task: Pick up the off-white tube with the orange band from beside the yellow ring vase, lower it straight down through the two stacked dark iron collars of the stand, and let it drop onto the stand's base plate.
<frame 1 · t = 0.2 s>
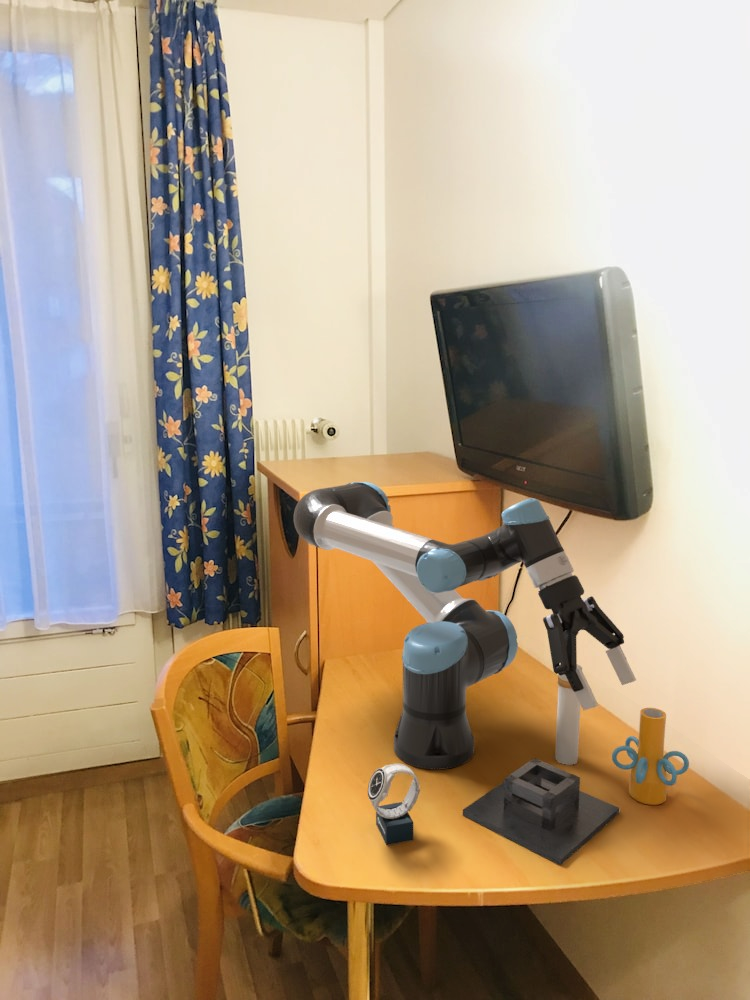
hand: (610, 695, 133), 16 cm above the table, tool tilted 35°, fingers open, 13 cm apart
yellow ring vase: (647, 796, 131), on the table
tube: (566, 759, 142), on the table
collar stand: (540, 814, 126), on the table
watch: (393, 833, 121), on the table
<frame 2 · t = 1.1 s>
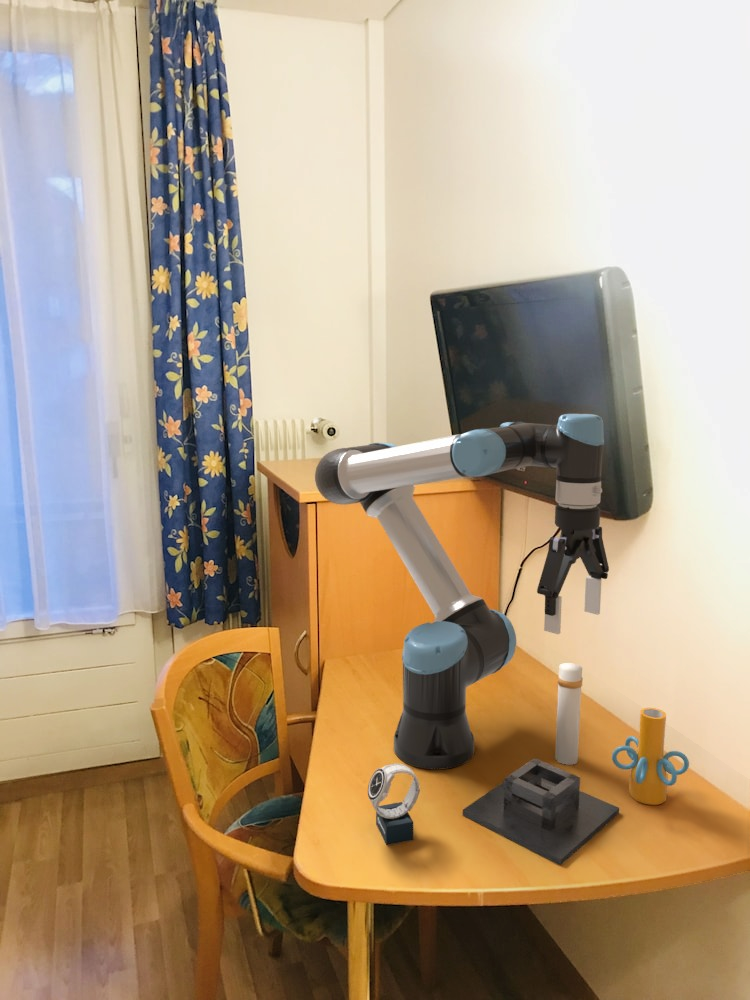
hand: (572, 622, 137), 27 cm above the table, tool pointing down, fingers open, 13 cm apart
nothing on the table moved.
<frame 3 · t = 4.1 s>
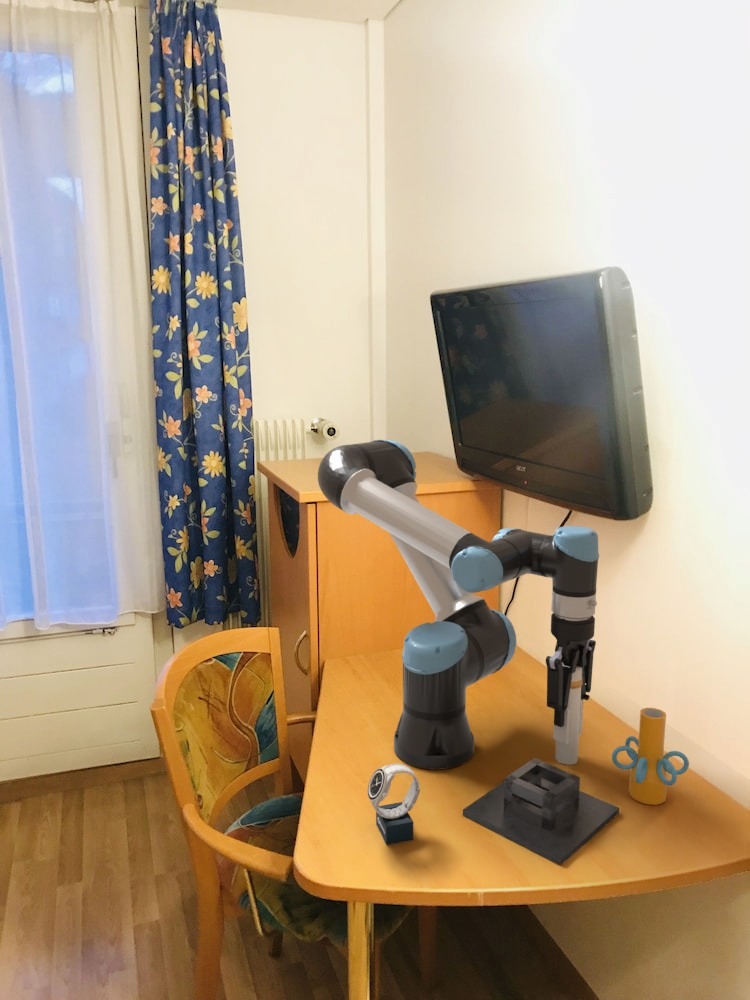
hand: (567, 735, 141), 5 cm above the table, tool pointing down, fingers closed on tube, 4 cm apart
tube: (566, 759, 142), on the table, touching gripper
everything else where it was.
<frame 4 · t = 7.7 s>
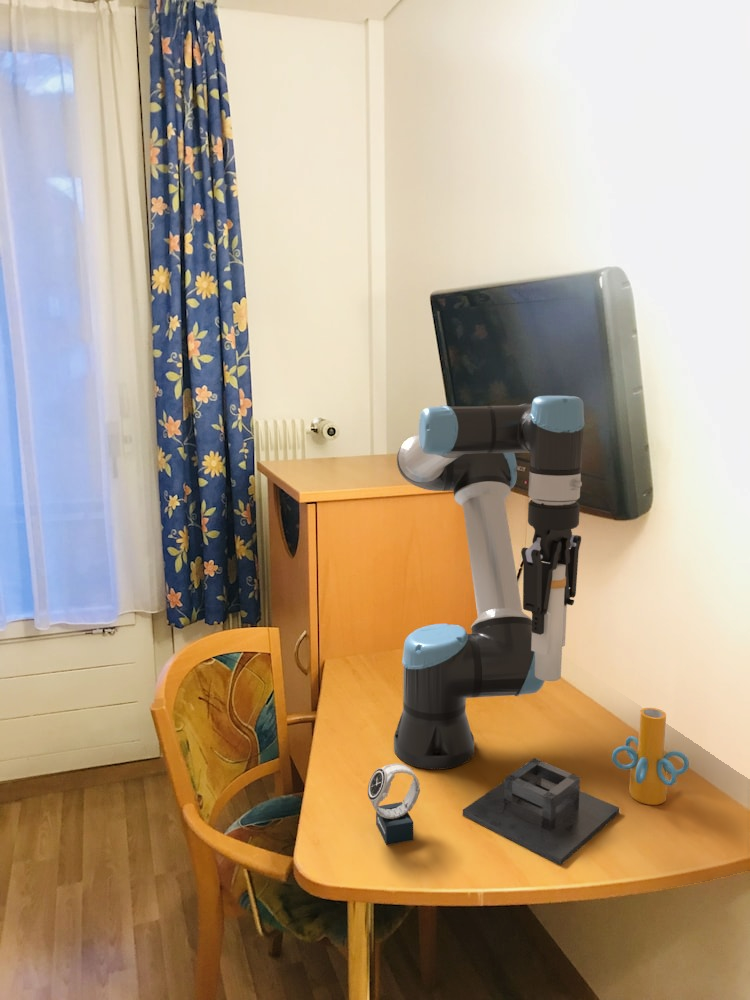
hand: (548, 647, 120), 29 cm above the table, tool pointing down, fingers closed on tube, 4 cm apart
tube: (547, 675, 121), point 24 cm above the table, touching gripper
everything else where it was.
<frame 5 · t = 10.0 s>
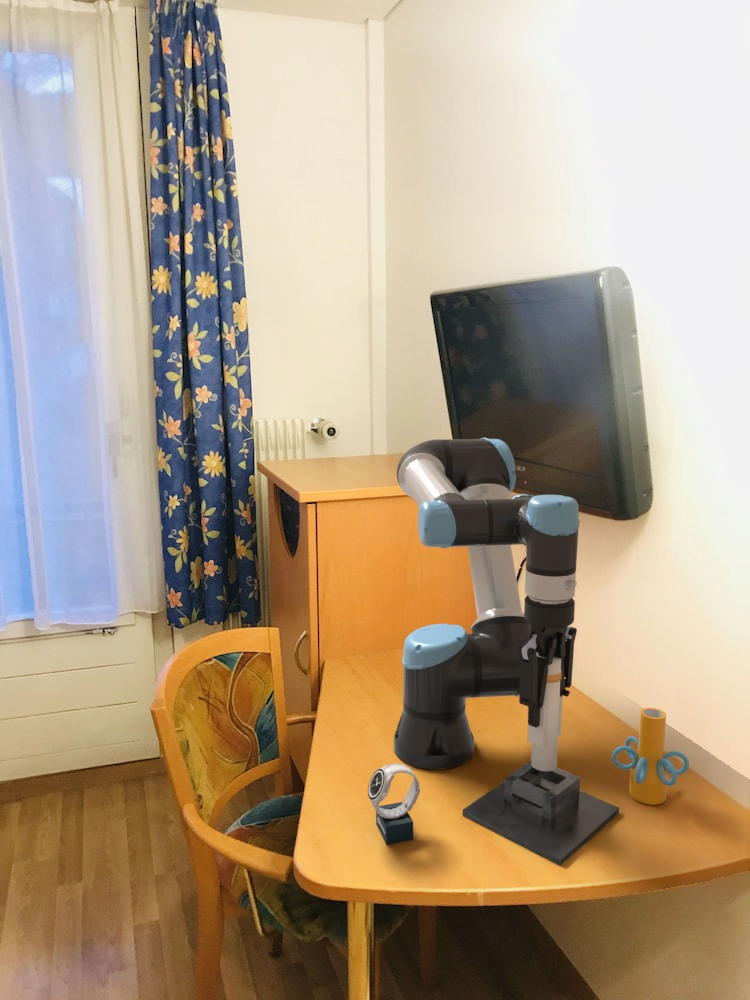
hand: (544, 737, 123), 14 cm above the table, tool pointing down, fingers closed on tube, 4 cm apart
tube: (543, 764, 124), point 9 cm above the table, touching gripper
everything else where it was.
when the fingers open (9 cm above the table, at t = 11.6 s): tube drops 3 cm, resting on collar stand.
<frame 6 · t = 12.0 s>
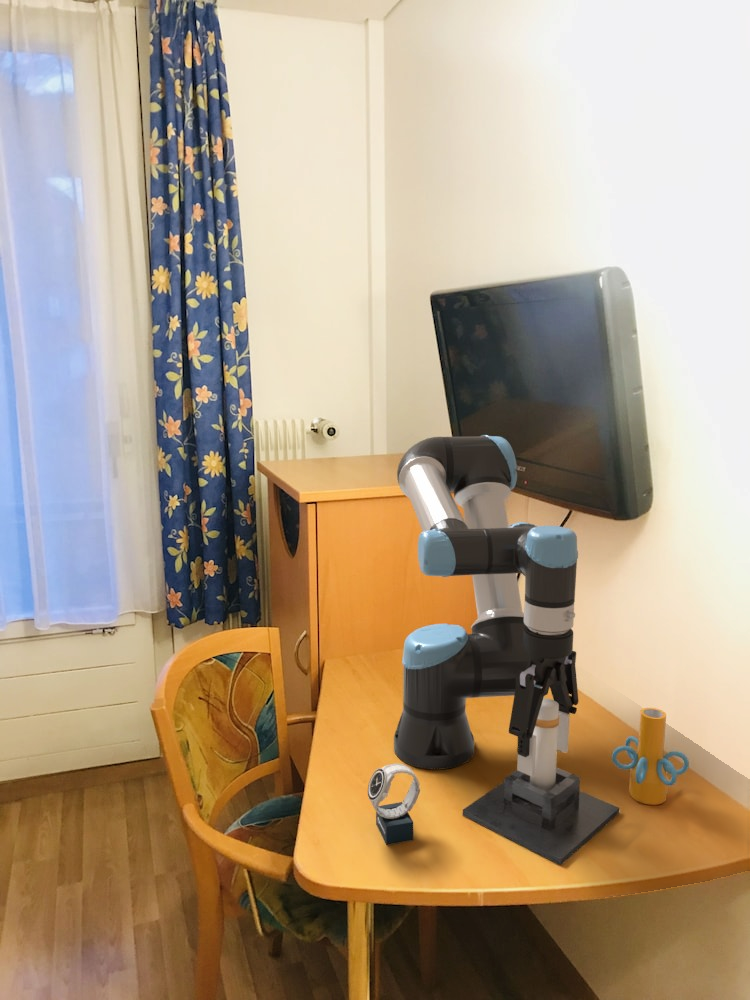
hand: (543, 760, 124), 10 cm above the table, tool pointing down, fingers open, 9 cm apart
tube: (541, 808, 125), point 1 cm above the table, touching collar stand
everything else where it was.
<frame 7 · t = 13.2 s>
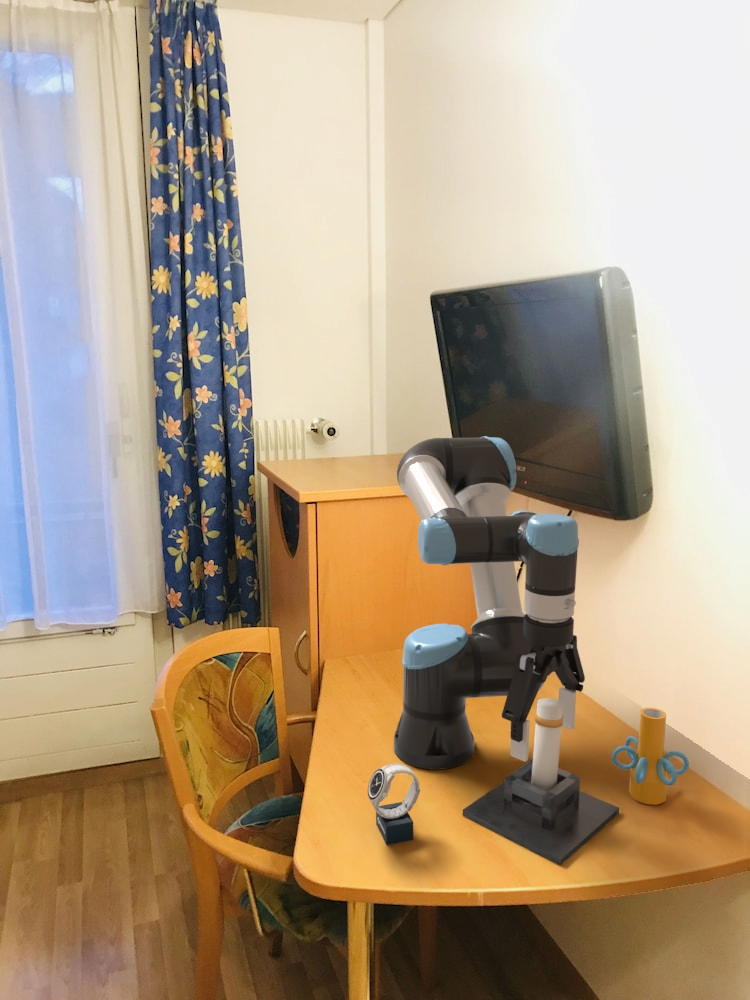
hand: (543, 741, 123), 13 cm above the table, tool pointing down, fingers open, 13 cm apart
nothing on the table moved.
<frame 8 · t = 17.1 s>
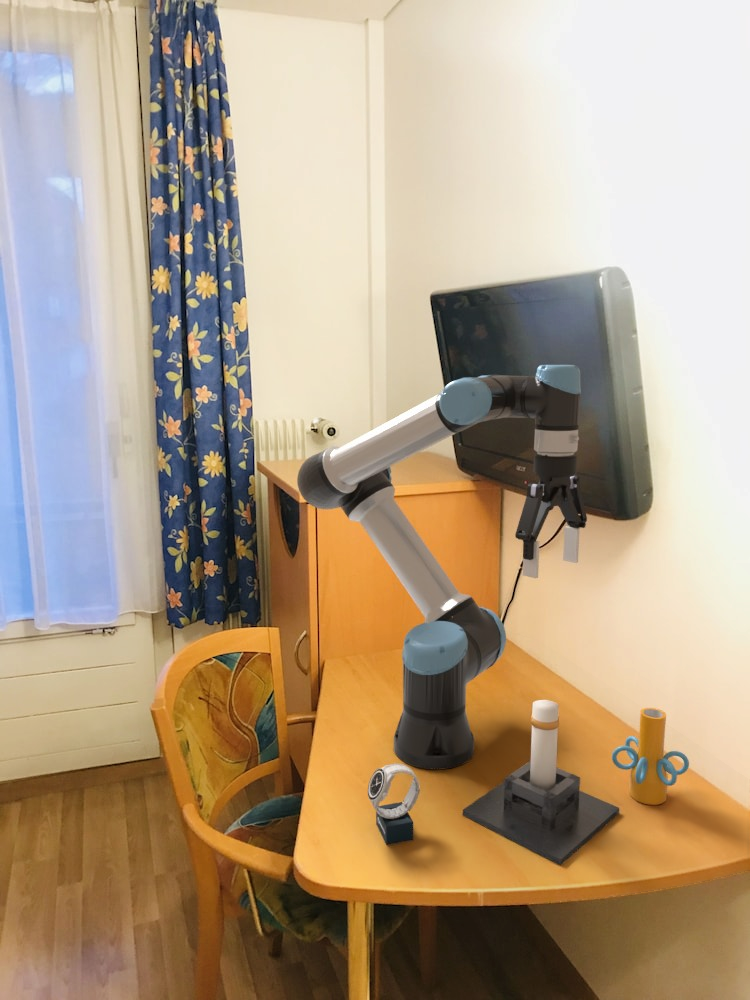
hand: (551, 568, 141), 35 cm above the table, tool pointing down, fingers open, 13 cm apart
at the end: tube 0.1 cm off-centre on the collar stand, point 1.0 cm above the collar stand's base; tube tilted 0°; the gripper is holding nothing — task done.
